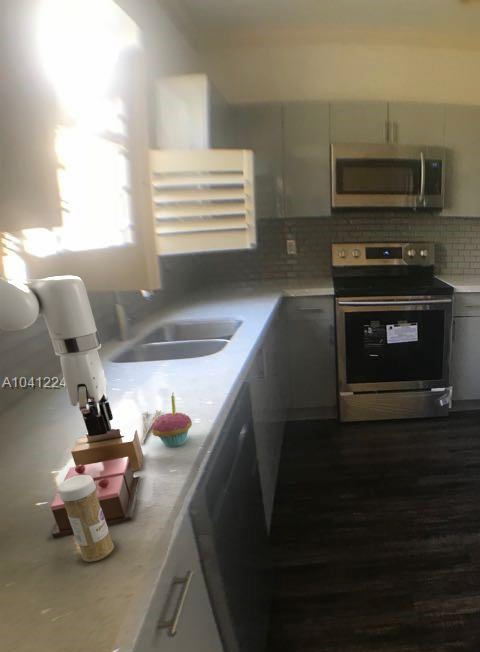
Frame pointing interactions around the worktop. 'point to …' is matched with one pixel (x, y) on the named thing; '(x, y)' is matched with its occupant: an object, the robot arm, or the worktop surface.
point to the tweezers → (149, 424)
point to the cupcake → (172, 427)
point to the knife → (110, 432)
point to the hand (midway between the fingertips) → (101, 426)
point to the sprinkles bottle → (86, 517)
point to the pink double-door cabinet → (103, 493)
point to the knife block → (110, 450)
